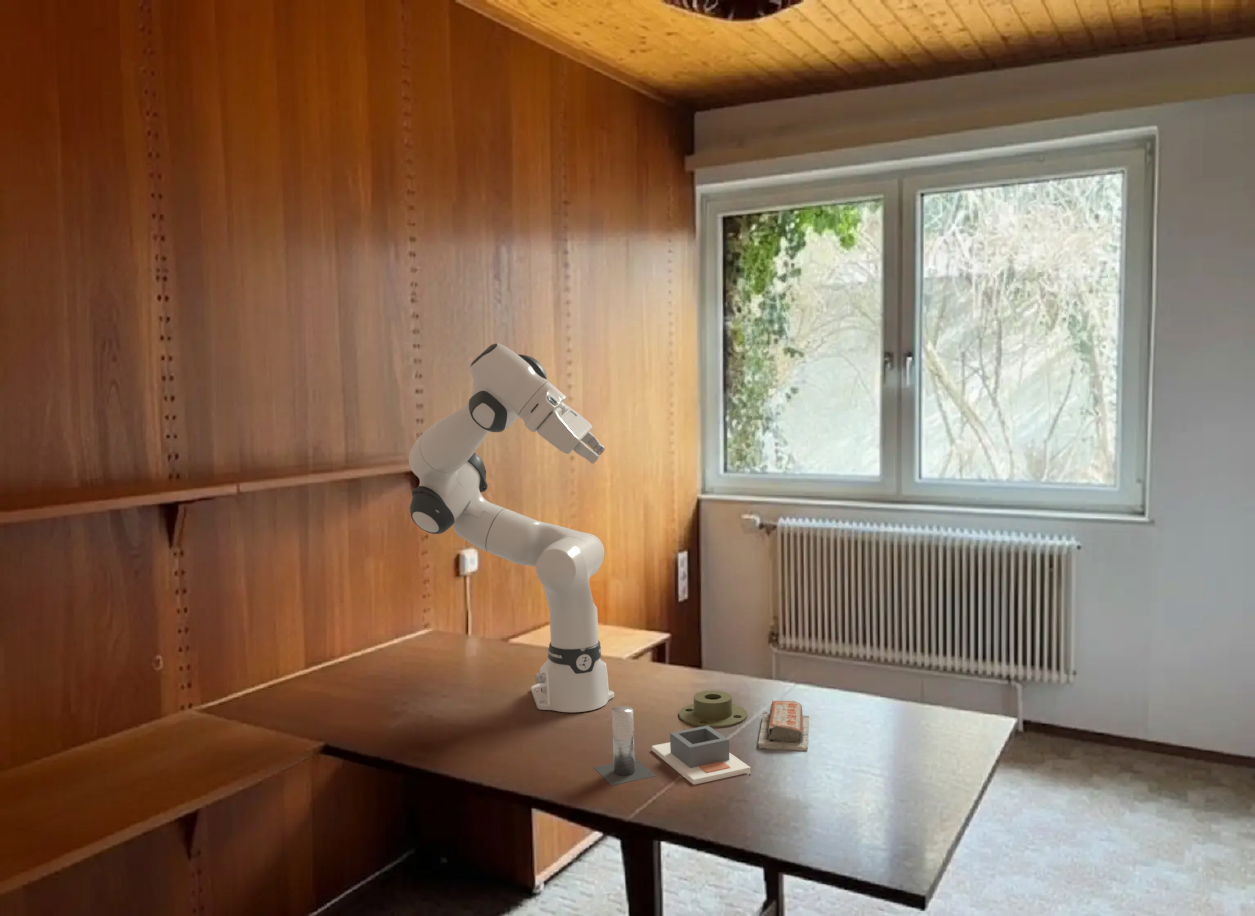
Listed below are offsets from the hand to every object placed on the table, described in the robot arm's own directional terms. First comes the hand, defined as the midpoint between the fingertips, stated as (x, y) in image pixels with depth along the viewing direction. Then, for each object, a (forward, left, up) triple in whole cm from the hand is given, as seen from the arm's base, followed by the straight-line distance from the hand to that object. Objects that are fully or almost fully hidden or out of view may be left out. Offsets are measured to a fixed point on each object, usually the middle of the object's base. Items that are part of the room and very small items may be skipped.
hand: (599, 456), depth 180 cm
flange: (-13, +30, -61) cm, 69 cm away
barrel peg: (+7, 0, -59) cm, 60 cm away
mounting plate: (+9, +15, -60) cm, 63 cm away
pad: (+7, 0, -60) cm, 61 cm away
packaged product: (+4, +38, -61) cm, 72 cm away
